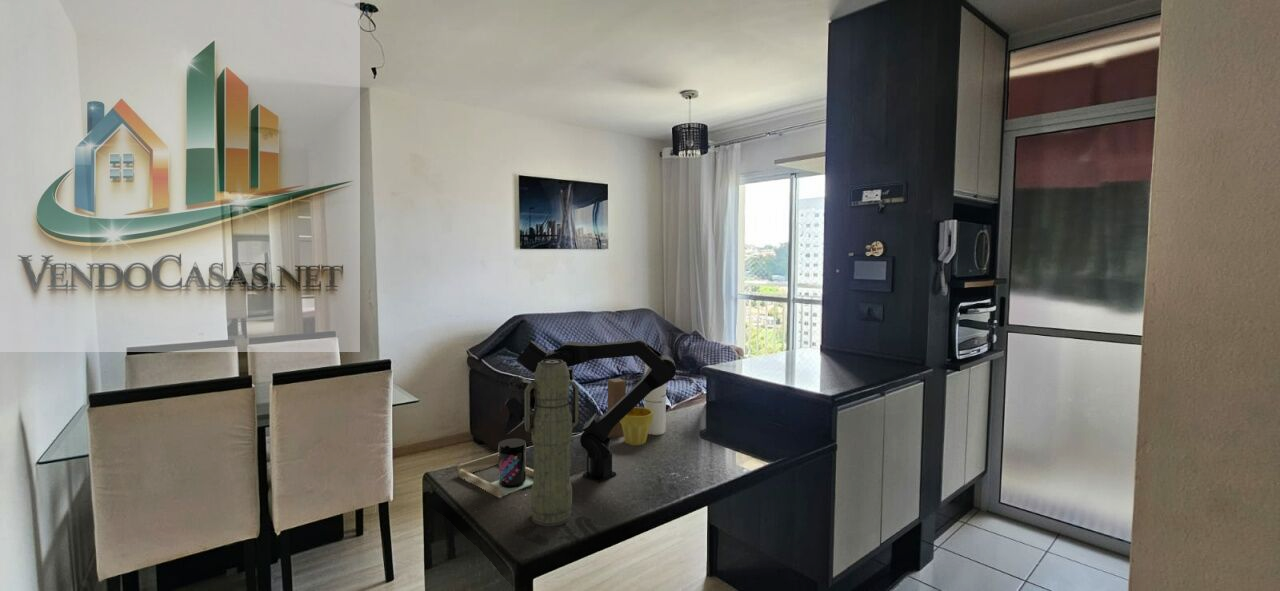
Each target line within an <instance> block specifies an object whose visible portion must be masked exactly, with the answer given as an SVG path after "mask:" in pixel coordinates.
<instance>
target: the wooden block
mask: <svg viewBox="0 0 1280 591" xmlns="http://www.w3.org/2000/svg"><path fill="white" fill-rule="evenodd" d="M626 393H627V381H626V380H625V379H622V378H618V377H617V378H612V379H611V378H610V379H608V381H607V409H606V412H607V411H609V410H610V409H611V408H612V407H613V406H614V405H615V404H616V403H617V402H618V401H619V400H620V399H621V398H622V397H623V396H624V395H625V394H626ZM619 436H624V434H623V429H622V424H621V423H620V421H619V422H618V423H617V424H616V425H615V426H614V427H613V429H612V430H611V432H610V433H609V435H608V437H609V438H610V439H611V438H615V437H619Z"/></svg>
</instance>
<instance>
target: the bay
mask: <svg viewBox="0 0 1280 591" xmlns="http://www.w3.org/2000/svg"><path fill="white" fill-rule="evenodd" d="M498 455H499V451H498V452H496V453H492V454H489V455H485V456H482V457H480V458H476V459H474V460H470V461H466V462H464V463H460V464H458V465H457V477H458V476H459V477H458V478H460V479H461V480H464V479H465V480H464V481H466V482H468V483H470V484H471V483H472V485H473V484H474V485H473V486H475V485H476V486H475V487H477V486H478V488H479V487H480V488H479V489H481V488H482V490H483V489H484V490H483V491H485V490H486V491H485V492H487V493H489V494H491V495H493V496H495V497H496V498H499V499H501V498H503V497H504V496H507V495H509V493H510V494H512V493H514V492H517V491H520V490H522V489H525V488H527V487H530V486H532V485H533V482H534V468H531V467H527V466H526V480H525V482H524V484H523V485H521V486H519V487H515V488H506V487H502V486H501V485H500V484H499V479H498V480H495V481H492V482H490V481H487V480H485V479H484V478H481V477H479V476H477V475H475V474H473V472H474V473H477V472H479V470H480V471H483V470H486V469H488V468H491V466H492V467H494V465H495V466H497V465H496V464H498V465H499V456H498ZM476 471H477V472H476Z"/></svg>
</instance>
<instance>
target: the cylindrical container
mask: <svg viewBox="0 0 1280 591" xmlns="http://www.w3.org/2000/svg"><path fill="white" fill-rule="evenodd" d="M648 369H649V367H648V366H647V365H646V364H645V363H644V375H645V374H646V372H647V370H648ZM643 400H644V404H643V405H644V406H643V408H647V409H650V410H651V411H652V413H653V414H652V423H651V424H650V426H649V431H648V435H651V434H652V436H654V435H655V436H659V435H663V434H665V433H666V414H667V411H666V409H667V403H666V402H667V383H665V384H664V385H662V386H660V387H658V388H656V389H654V390H653V391H651V392H650V393H649V394H648V395H647V396H646V397H645V398H644V399H643Z"/></svg>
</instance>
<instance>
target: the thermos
mask: <svg viewBox="0 0 1280 591" xmlns="http://www.w3.org/2000/svg"><path fill="white" fill-rule="evenodd" d="M568 369H569V367H567V364H566V362H564V361H563V360H559V359H547V360H542V361H541V362H539V363H538V365H537V368H536V371H535V372H534V374H533V375H534V379H533V380H534V382H532V383H530V384H528V385H527V387H526V389H525V390H524V397H523V399H524V423H525V430H524V431H526V433H531V442H532V445H533V470H534V482H533V485H531V489H530V501H531V502H530V505H531V506H530V507H531V519H532V522H533V523H534V524H536V525H538V526H541V527H555V526H560V525H563V524H565V523H567V522H568V521H569V520H571V518H572V505H573V486H572V483H571V480H570V479H571V476H570V475H571V474H570V471H571V470H570V469H571V461H570V460H571V454H570V453H571V450H570V449H571V443H572V442H571V441H572V440H573V430H574V428H575V427H576V426H577V425H578V424H579V419H580V418H579V410H580V409H579V401H580V400H579V399H580V398H579V395H580V394H579V390H580V389H579V385H578V384H577V383H576V382H575V381H574V379H573V380H570V374H569V371H568ZM570 387H572V389H571V388H570ZM532 388H534V396H535V403H534V411H533V414H532V424H530V391H531V389H532ZM570 389H571V390H572V394H571V393H570ZM570 394H571V398H572V399H571V400H572V404H571V403H570V401H569V398H570ZM570 404H571V406H572V407H571V408H570Z"/></svg>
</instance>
